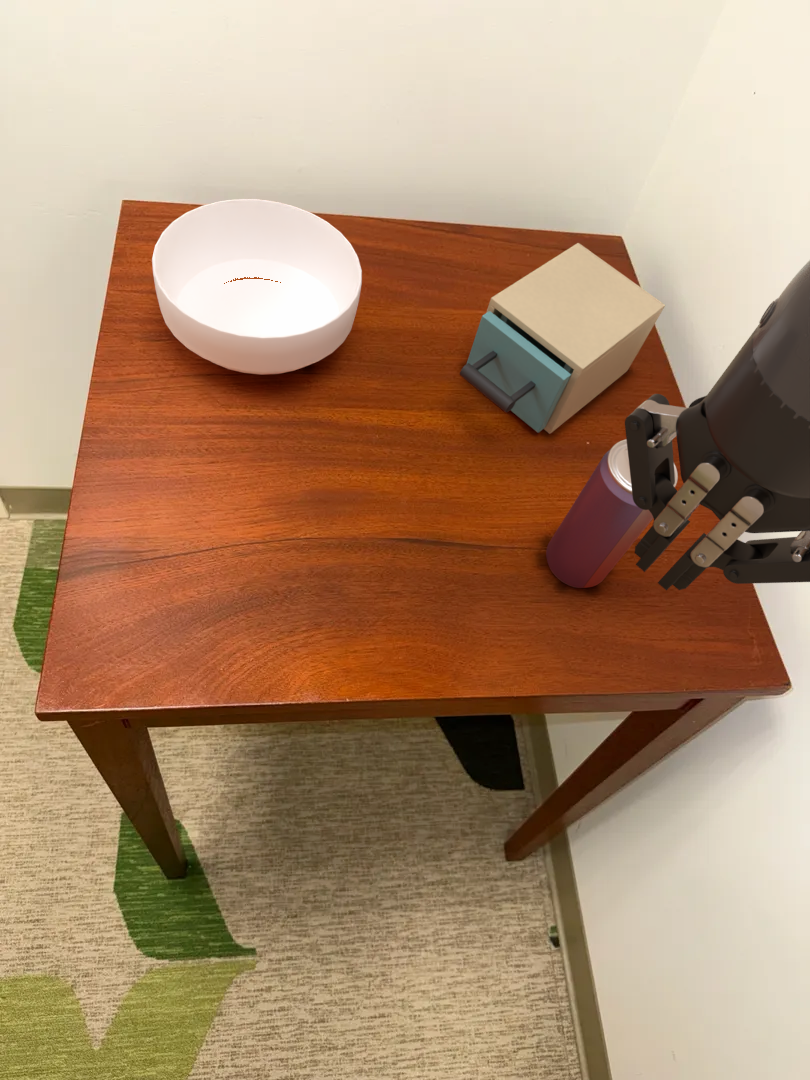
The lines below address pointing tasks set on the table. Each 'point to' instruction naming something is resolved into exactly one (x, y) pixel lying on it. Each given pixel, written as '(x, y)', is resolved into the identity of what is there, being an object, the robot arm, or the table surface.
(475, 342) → the drawer
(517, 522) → the table surface
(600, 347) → the beige box
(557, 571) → the beverage can
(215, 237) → the bowl
